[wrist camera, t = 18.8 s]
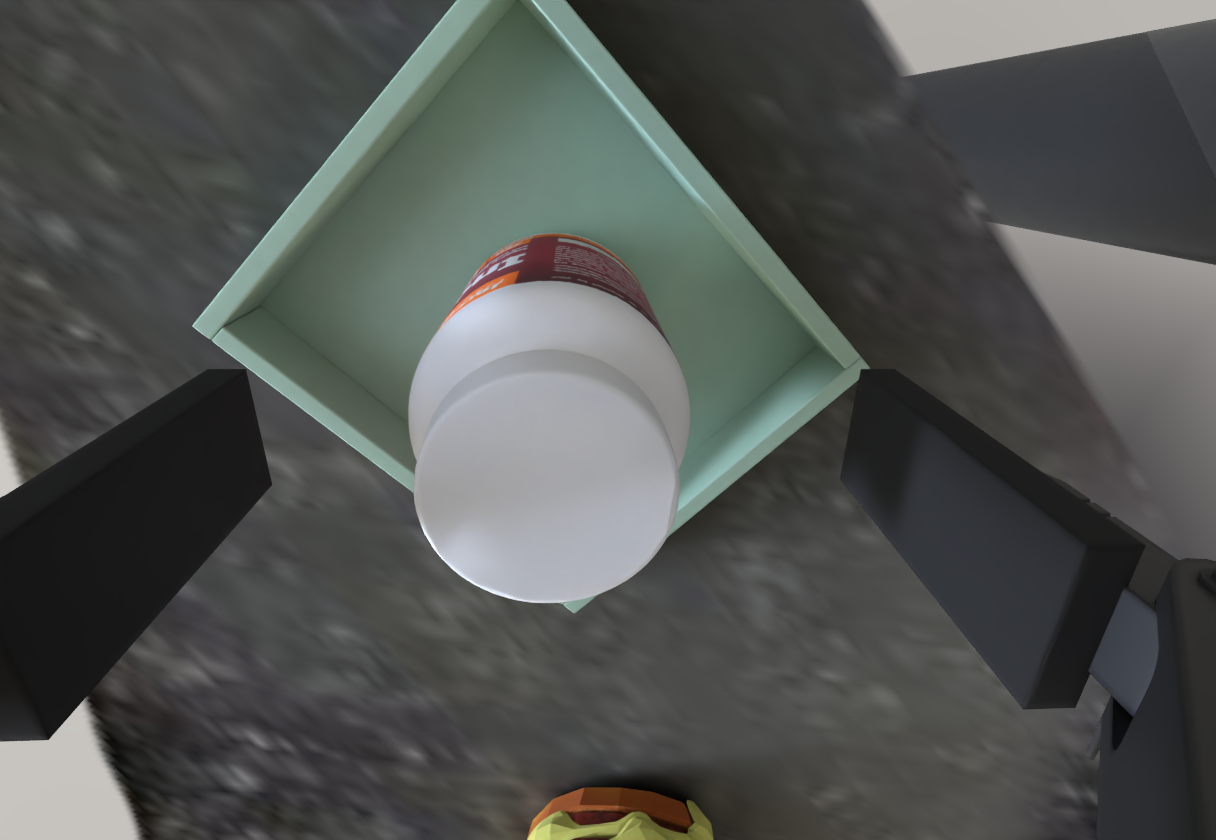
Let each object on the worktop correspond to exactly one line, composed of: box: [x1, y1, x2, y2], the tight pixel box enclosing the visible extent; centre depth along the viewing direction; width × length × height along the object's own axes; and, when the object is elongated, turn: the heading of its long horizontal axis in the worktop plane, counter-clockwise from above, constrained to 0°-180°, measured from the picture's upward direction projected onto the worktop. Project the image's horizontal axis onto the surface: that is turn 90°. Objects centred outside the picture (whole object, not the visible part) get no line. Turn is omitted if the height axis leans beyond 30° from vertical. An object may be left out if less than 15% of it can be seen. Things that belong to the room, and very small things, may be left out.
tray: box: [193, 0, 870, 613], centre depth 20 cm, size 15×13×3 cm
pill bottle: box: [408, 233, 690, 603], centre depth 16 cm, size 6×6×11 cm
